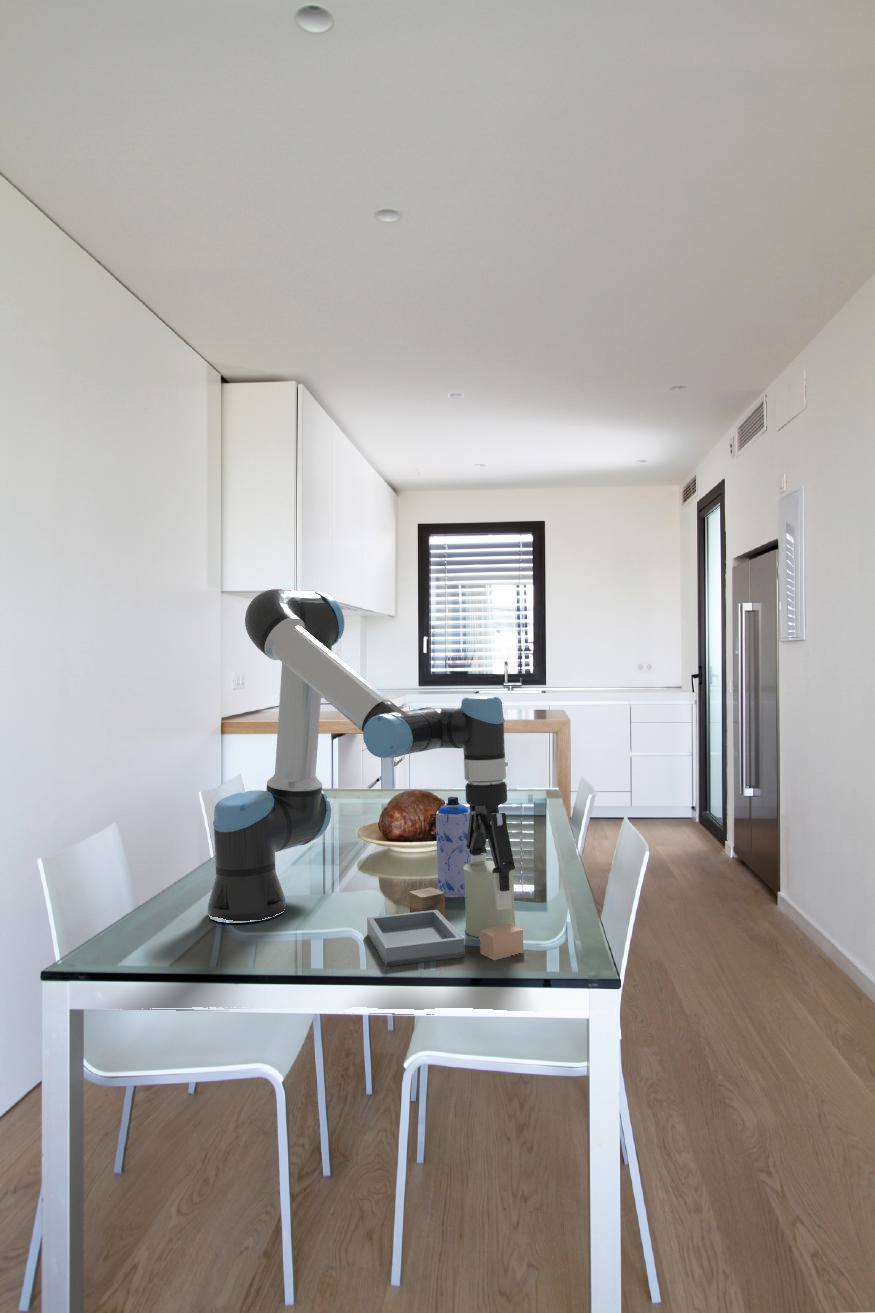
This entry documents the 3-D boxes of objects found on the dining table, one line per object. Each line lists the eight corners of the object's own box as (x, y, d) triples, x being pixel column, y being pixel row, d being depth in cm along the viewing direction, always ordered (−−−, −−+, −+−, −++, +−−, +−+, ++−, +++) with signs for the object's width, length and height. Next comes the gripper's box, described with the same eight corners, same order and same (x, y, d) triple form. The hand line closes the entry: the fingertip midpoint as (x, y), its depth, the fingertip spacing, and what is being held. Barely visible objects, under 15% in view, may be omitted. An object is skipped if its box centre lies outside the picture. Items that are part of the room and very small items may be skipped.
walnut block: (422, 924, 160) (421, 897, 160) (409, 917, 164) (409, 891, 164) (445, 919, 163) (444, 893, 163) (432, 913, 167) (431, 887, 167)
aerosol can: (481, 890, 182) (478, 795, 182) (461, 899, 175) (458, 801, 175) (450, 885, 186) (447, 793, 186) (430, 894, 180) (427, 799, 180)
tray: (464, 956, 142) (463, 938, 142) (386, 966, 138) (385, 948, 138) (437, 926, 158) (437, 909, 158) (367, 934, 155) (366, 917, 155)
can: (485, 919, 162) (482, 855, 162) (525, 927, 156) (523, 861, 156) (454, 932, 155) (452, 866, 155) (496, 942, 149) (494, 873, 149)
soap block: (493, 961, 140) (493, 936, 140) (480, 954, 143) (479, 930, 143) (523, 953, 143) (522, 929, 143) (509, 947, 146) (508, 923, 146)
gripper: (530, 788, 144) (535, 915, 144) (484, 772, 168) (489, 880, 168) (487, 792, 142) (493, 920, 142) (447, 775, 166) (452, 884, 166)
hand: (491, 899), depth 155 cm, fingers open, 13 cm apart
